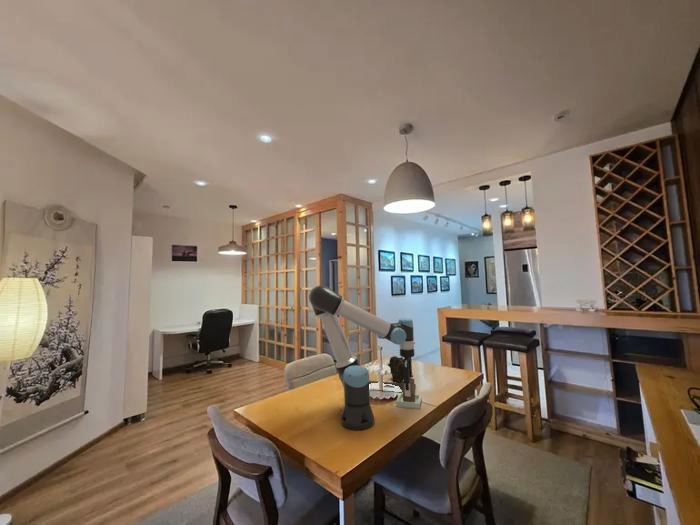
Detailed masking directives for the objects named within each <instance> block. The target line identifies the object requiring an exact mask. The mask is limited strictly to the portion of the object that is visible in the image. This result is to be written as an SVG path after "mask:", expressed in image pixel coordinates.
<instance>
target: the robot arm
mask: <svg viewBox="0 0 700 525" xmlns="http://www.w3.org/2000/svg"><path fill="white" fill-rule="evenodd" d="M308 299H309V304H310V305H311V307H312V310H313V312H314V314H315V316H316V317H318V318H319V319H320V322H321V324H322V326H323V330H324V332H325V335H326V337H327V340H328V342H329V345H330V348H331V351H332V353H333V355H334V358H335V359H336V363H335V368H336V371H337V374H338V377H339V378H338V379H339V380H340V382H341V384H342V386H343V394H344V396H343V397H344V399H343V400H344V405H343V408H342V413H341V416H340V424H341V426H343V427H344V428H346V429H347V430H351V431H361V430H366V429H369V428H371V427H373V425H374V424H375V415H374V412H373V409H372V406H371V400H370V399H371V396H370V395H371V394H370V391H371V390H369V380H370V373H369V370H368V369H367V367H364V366H362V365H360V362H359V360H358V357H357V356H356V355H353V352H352V350H351V348H350V345H349V342H348V340H347V336H346V335H345V332H344V330H343V326H342V325H341V322H340V319H339V317H341V318H344V319H345V320H346V321H347V320H348V321H349V322H351V323H353V324H355V325H357V326H359V327H361V328H364V329H365V330H368V331H369V332H371V333H373V334H375V335H376V337H377V338H378V339H380V340H381V339H383V340H388V341H390V342H391V343H393V344H395V345H398V346H399V356H400V358H401V357H402V358H403V359H404V360H403V367H404V382H403V383H404V384H405V396H408V397H410V396H411V394H410V379H413V378H414V375H413V367H412V358H414V357H415V344H416V341H414V340H415V337H414V323H413V319H412V318H407V317H405V318H399V319H398V321H397V322H395V323H391V322H389V321H387V320H385V319H383V318H381V317H379V316H377V315H375V314H373V313H371V312H369V311H367V310H365V309H363V308H361V307H359V306H357V305H355V304H353V303H351V302H349V301H347V300H345V299H344V296H342V295H340V293H339V294H338V293H337V292H335V291H334V290H332V289H331V288H330V287H328V286H326V285H317V286H315V287H313V288H311V290H310V292H309V295H308Z"/></svg>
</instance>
